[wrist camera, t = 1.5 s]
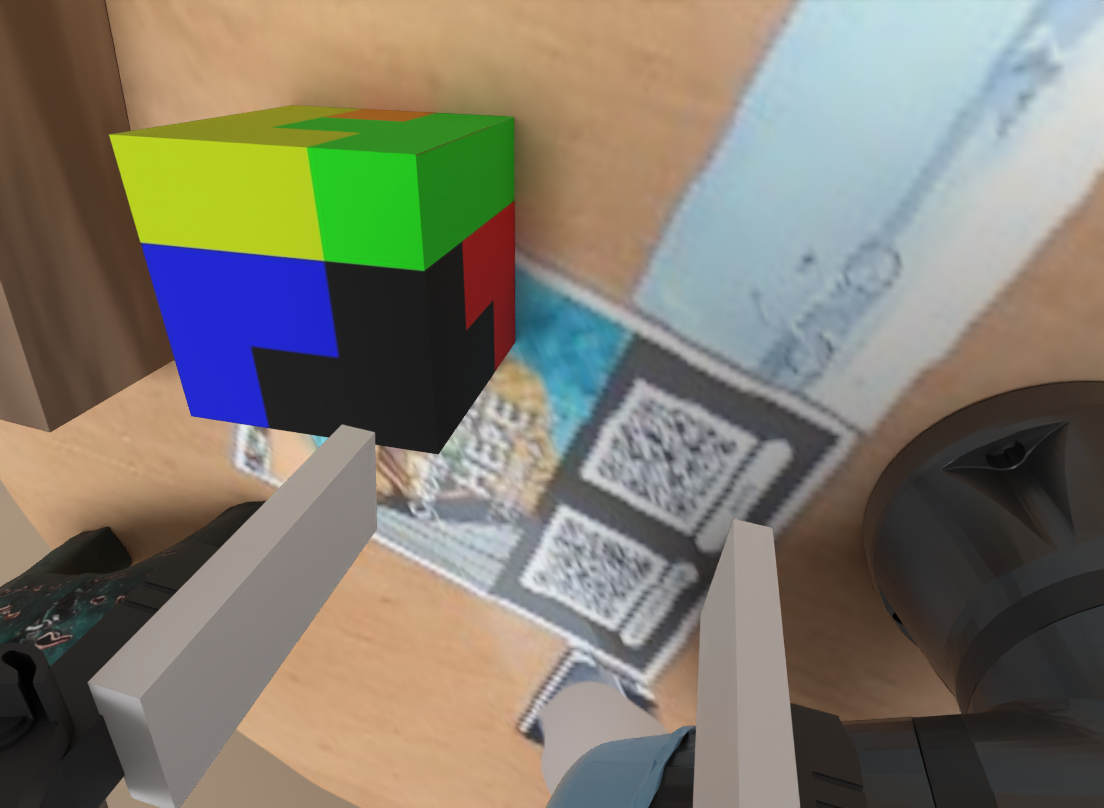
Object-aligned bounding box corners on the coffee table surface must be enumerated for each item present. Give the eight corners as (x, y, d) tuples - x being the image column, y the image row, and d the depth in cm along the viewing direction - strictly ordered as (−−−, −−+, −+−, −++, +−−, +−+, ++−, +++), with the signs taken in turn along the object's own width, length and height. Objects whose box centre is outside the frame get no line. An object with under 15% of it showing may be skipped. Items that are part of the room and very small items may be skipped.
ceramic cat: (101, 580, 49) (-228, 868, 32) (47, 513, 47) (-342, 786, 30) (309, 552, 42) (29, 899, 25) (258, 470, 40) (-91, 795, 23)
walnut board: (89, -75, 27) (-129, -115, 20) (174, 359, 37) (49, 432, 30) (26, -84, 27) (-209, -125, 20) (127, 348, 37) (-6, 417, 30)
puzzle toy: (327, 319, 33) (191, 416, 25) (293, 105, 28) (108, 134, 20) (515, 341, 31) (438, 454, 23) (514, 116, 27) (415, 154, 18)
